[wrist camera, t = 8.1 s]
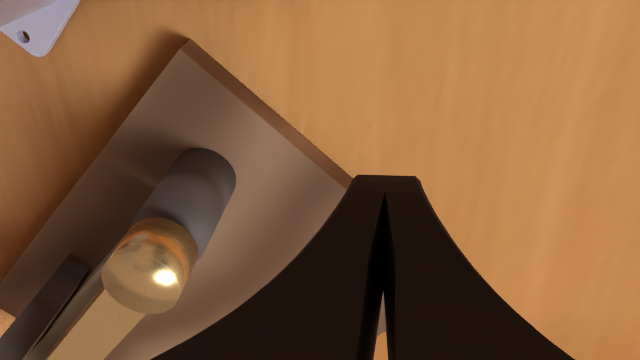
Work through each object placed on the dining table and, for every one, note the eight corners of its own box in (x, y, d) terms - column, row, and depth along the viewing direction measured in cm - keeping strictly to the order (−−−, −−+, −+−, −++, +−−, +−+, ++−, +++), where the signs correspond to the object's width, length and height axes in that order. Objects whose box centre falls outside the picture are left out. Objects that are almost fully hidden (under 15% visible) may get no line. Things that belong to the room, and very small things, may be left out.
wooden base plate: (0, 285, 30) (-113, 407, 23) (190, 39, 21) (92, 127, 14) (219, 419, 34) (177, 555, 28) (456, 268, 25) (478, 416, 19)
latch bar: (149, 204, 18) (122, 241, 16) (212, 246, 18) (193, 286, 17) (11, 379, 24) (-17, 418, 23) (61, 405, 25) (37, 445, 23)
